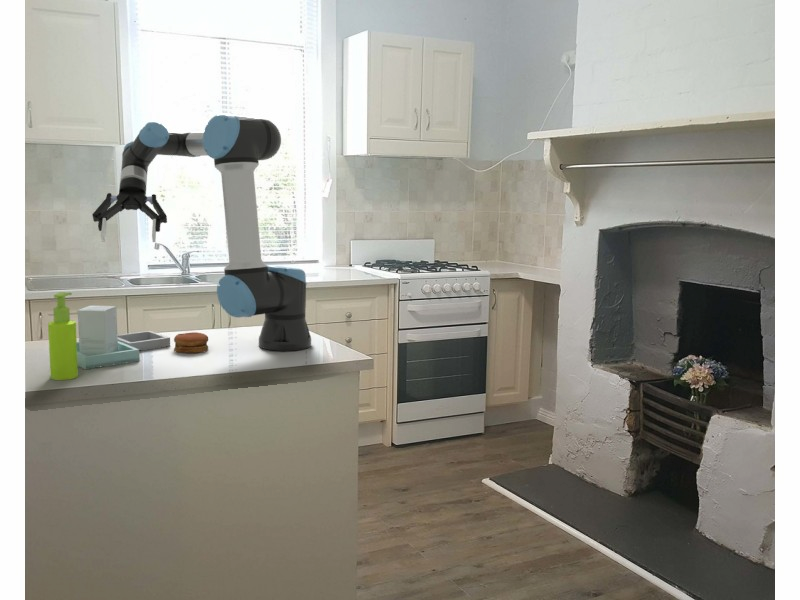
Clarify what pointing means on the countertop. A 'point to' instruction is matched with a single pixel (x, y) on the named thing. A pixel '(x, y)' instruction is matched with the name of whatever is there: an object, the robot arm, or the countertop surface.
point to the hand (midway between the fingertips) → (128, 238)
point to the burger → (191, 342)
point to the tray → (108, 357)
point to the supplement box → (97, 330)
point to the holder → (144, 340)
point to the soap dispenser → (62, 342)
